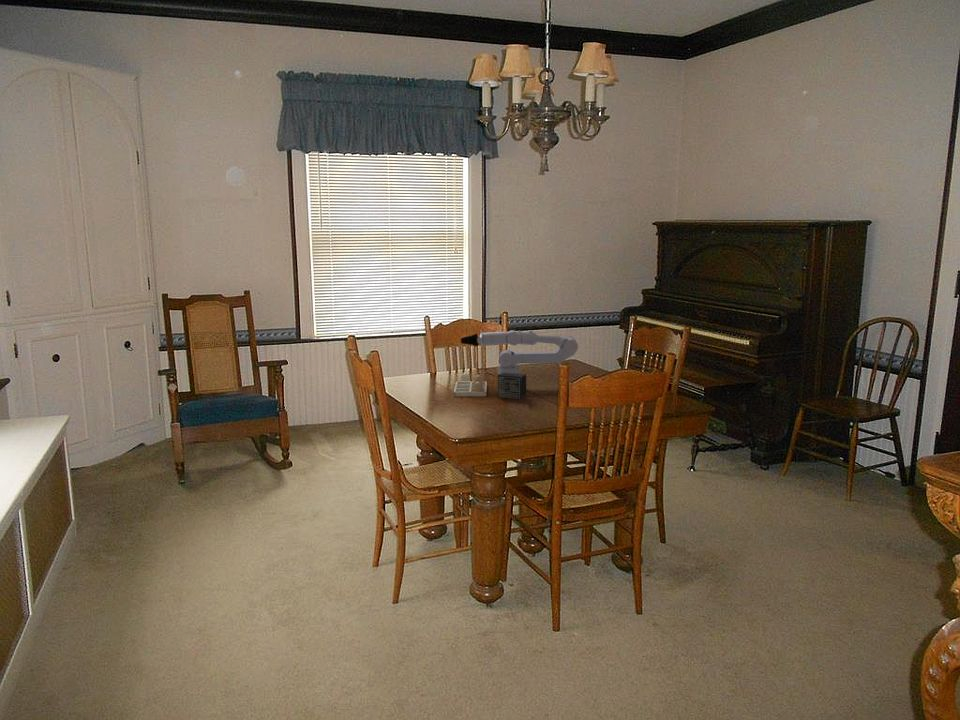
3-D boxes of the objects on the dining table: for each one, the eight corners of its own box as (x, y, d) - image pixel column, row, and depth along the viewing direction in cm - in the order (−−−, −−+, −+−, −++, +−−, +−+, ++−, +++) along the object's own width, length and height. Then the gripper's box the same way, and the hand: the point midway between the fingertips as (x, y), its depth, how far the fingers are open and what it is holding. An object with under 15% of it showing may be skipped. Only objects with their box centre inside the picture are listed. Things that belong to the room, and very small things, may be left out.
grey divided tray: (486, 387, 316) (486, 381, 316) (486, 398, 297) (486, 391, 296) (456, 387, 317) (455, 381, 316) (453, 398, 297) (453, 392, 297)
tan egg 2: (483, 392, 302) (482, 380, 301) (482, 395, 298) (482, 382, 297) (473, 392, 302) (472, 380, 301) (472, 395, 298) (472, 382, 297)
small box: (527, 398, 297) (527, 373, 295) (521, 402, 291) (521, 376, 289) (503, 396, 301) (503, 371, 299) (497, 399, 295) (497, 374, 293)
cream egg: (470, 383, 325) (469, 372, 324) (469, 385, 320) (469, 373, 319) (460, 383, 325) (460, 372, 324) (460, 385, 320) (460, 374, 319)
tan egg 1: (483, 385, 315) (483, 374, 314) (483, 388, 311) (483, 376, 310) (473, 386, 315) (473, 374, 314) (473, 388, 311) (473, 376, 310)
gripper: (492, 329, 322) (462, 330, 322) (491, 330, 307) (459, 331, 308) (493, 344, 322) (463, 346, 323) (492, 346, 308) (460, 348, 308)
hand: (461, 340), depth 315 cm, fingers open, 7 cm apart
